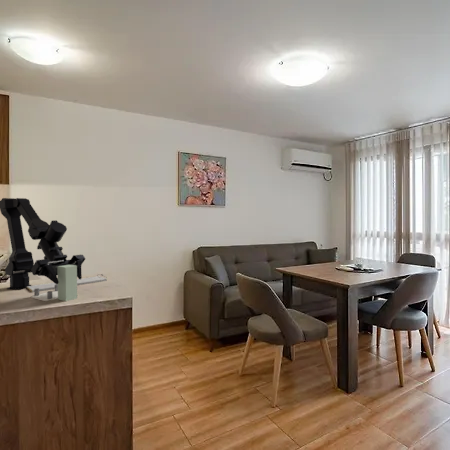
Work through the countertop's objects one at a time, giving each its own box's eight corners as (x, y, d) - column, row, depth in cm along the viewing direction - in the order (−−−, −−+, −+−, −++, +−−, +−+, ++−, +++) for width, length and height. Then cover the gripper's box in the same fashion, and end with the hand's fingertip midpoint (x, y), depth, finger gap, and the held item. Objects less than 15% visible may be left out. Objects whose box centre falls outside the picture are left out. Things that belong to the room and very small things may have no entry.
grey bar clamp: (25, 288, 132) (32, 294, 124) (25, 282, 132) (32, 287, 124) (96, 278, 154) (106, 282, 146) (96, 272, 154) (106, 276, 146)
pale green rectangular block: (58, 299, 114) (57, 266, 114) (69, 296, 118) (68, 264, 118) (66, 301, 112) (65, 267, 111) (77, 298, 116) (76, 265, 115)
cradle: (30, 297, 116) (30, 289, 116) (60, 290, 127) (60, 283, 127) (45, 301, 111) (45, 293, 111) (75, 293, 122) (75, 286, 122)
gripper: (65, 260, 130) (82, 289, 125) (18, 267, 114) (35, 300, 109) (76, 242, 126) (94, 271, 121) (29, 247, 110) (48, 280, 105)
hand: (69, 281), depth 114 cm, fingers open, 9 cm apart
